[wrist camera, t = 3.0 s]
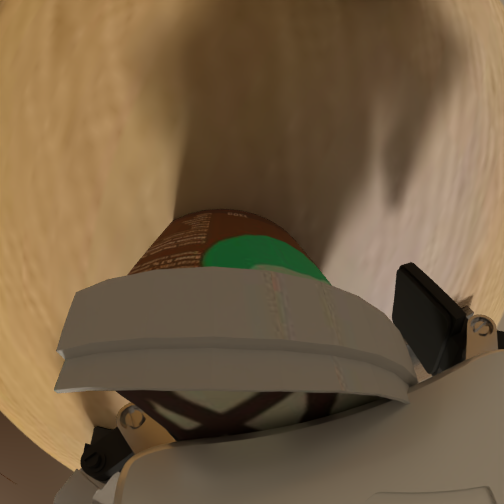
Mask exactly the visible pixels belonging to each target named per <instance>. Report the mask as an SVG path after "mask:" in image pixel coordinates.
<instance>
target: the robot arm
mask: <svg viewBox="0 0 504 504" xmlns="http://www.w3.org/2000/svg"><path fill="white" fill-rule="evenodd" d="M466 315H467V314H466V313H465V312H464V311H463V310H462V309H461V308H460V307H459V306H458V305H457V304H456V303H455V302H454V301H453V300H452V299H451V298H450V297H449V296H448V295H447V294H446V293H445V292H444V291H443V290H442V289H441V288H440V287H439V286H438V285H437V284H436V283H435V282H434V281H433V280H432V279H430V278H429V277H428V276H427V275H426V274H425V273H424V272H423V271H422V270H421V269H420V268H418V267H417V266H416V265H415V264H414V263H412V262H410V263H407V264H404V265H401V266H400V268H399V269H398V270H397V274H396V286H395V296H394V305H393V313H392V320H393V323H394V325H395V326H396V327H397V328H398V330H399V331H400V333H401V335H402V336H403V338H404V339H405V340H406V342H407V343H408V345H409V346H410V348H411V349H412V351H413V352H414V354H415V355H416V357H417V358H418V360H419V361H420V363H421V364H422V366H423V367H424V369H425V370H426V372H427V373H428V374H431V375H432V376H433V377H430V378H428V379H426V380H424V381H422V382H420V383H418V384H415V385H413V386H411V387H409V388H408V391H407V396H408V398H409V401H410V404H404V403H403V402H401V401H397V400H393V399H388V398H381V399H379V400H376V401H373V402H370V403H368V404H365V405H362V406H359V407H356V408H353V409H350V410H347V411H343V412H340V413H337V414H333V415H330V416H326V417H322V418H319V419H315V420H311V421H307V422H303V423H298V424H294V425H289V426H285V427H280V428H275V429H269V430H263V431H257V432H251V433H244V434H237V435H230V436H222V437H212V438H202V439H193V440H183V441H180V440H179V439H178V438H177V437H176V436H174V435H173V434H172V433H170V432H169V431H168V430H166V429H165V428H164V427H162V426H161V425H160V424H158V423H157V422H156V421H155V420H153V419H152V418H151V417H150V416H148V415H147V414H146V413H145V412H144V411H142V410H141V409H140V408H139V407H138V406H136V405H135V404H133V403H132V402H131V403H129V404H127V405H125V406H124V407H122V408H121V409H120V411H119V412H118V414H117V417H116V423H117V426H118V427H116V428H115V429H114V430H112V431H111V432H110V433H108V434H107V435H106V436H104V437H103V438H102V439H100V440H99V441H97V442H96V443H95V444H93V445H92V446H90V447H89V448H88V449H87V450H86V451H84V453H83V455H82V457H81V467H82V468H81V469H80V470H78V469H76V470H75V472H74V473H73V474H72V475H71V477H70V478H69V479H68V480H67V482H66V483H65V484H64V485H63V487H62V488H61V489H60V490H59V492H58V493H57V494H56V496H55V498H54V504H504V332H503V331H498V330H497V328H496V324H495V323H494V321H493V320H492V319H491V318H489V317H487V316H485V315H474V316H472V317H470V318H469V319H468V318H467V317H466Z"/></svg>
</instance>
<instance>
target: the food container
mask: <svg viewBox="0 0 504 504" xmlns="http://www.w3.org/2000/svg"><path fill="white" fill-rule="evenodd" d="M56 351H57V352H58V353H59V354H60V355H61V356H62V357H63V358H64V359H65V362H64V364H63V367H62V369H61V372H60V374H59V377H58V380H57V382H56V385H55V388H54V391H55V392H57V393H68V392H80V391H116V392H117V393H119V394H120V395H122V396H123V397H124V398H126V399H127V400H129V401H130V402H132V403H133V404H135V405H136V406H138V407H139V408H140V409H141V410H142V411H144V412H145V413H146V414H147V415H148V416H150V417H151V418H152V419H153V420H155V421H156V422H157V423H158V424H160V425H161V426H162V427H164V428H165V429H166V430H168V431H169V432H170V433H172V434H173V435H174V436H176V437H177V438H178V439H179V440H180V441H183V440H193V439H202V438H212V437H222V436H230V435H237V434H244V433H251V432H257V431H263V430H269V429H275V428H280V427H285V426H289V425H294V424H298V423H303V422H307V421H311V420H315V419H319V418H322V417H326V416H330V415H333V414H337V413H340V412H343V411H347V410H350V409H353V408H356V407H359V406H362V405H365V404H368V403H370V402H373V401H376V400H379V399H381V398H388V399H393V400H397V401H401V402H403V403H404V404H410V401H409V398H408V396H407V391H408V388H409V387H411V386H413V385H415V384H418V383H419V382H418V379H417V376H416V373H415V370H414V367H413V364H412V361H411V358H410V355H409V352H408V349H407V347H406V344H405V342H404V340H403V337H402V335H401V333H400V331H399V330H398V328H397V327H396V326H395V325H394V324H393V323H392V322H391V321H390V319H389V318H388V317H387V316H386V315H385V314H384V313H383V312H382V311H380V310H378V309H377V308H375V307H374V306H372V305H371V304H369V303H368V302H366V301H365V300H363V299H362V298H360V297H359V296H357V295H354V294H351V293H349V292H346V291H344V290H341V289H339V288H336V287H333V286H332V285H331V284H330V282H329V281H328V280H327V279H326V277H325V276H324V275H323V274H322V273H321V271H320V270H319V269H318V268H317V266H316V265H315V264H314V263H313V261H312V260H311V259H310V258H309V257H308V255H307V254H306V253H305V252H304V251H303V249H302V248H301V247H300V246H299V245H298V243H297V242H296V241H295V240H294V239H293V237H291V236H290V235H289V234H288V233H287V232H286V231H285V230H284V229H283V228H281V227H280V226H278V225H276V224H275V223H273V222H272V221H270V220H268V219H266V218H263V217H261V216H258V215H256V214H252V213H248V212H244V211H240V210H229V209H215V210H204V211H200V212H196V213H191V214H188V215H185V216H183V217H181V218H178V219H176V220H173V221H172V222H171V223H170V225H169V226H168V227H167V228H166V229H165V230H164V231H163V233H162V234H161V235H160V236H159V237H158V238H157V240H156V241H155V242H154V243H153V244H152V245H151V247H150V248H149V249H148V250H147V251H146V253H145V254H144V255H143V256H142V258H141V259H140V260H139V261H138V262H137V264H136V265H135V266H134V267H133V269H132V270H131V271H130V272H129V274H128V275H127V276H122V277H118V278H113V279H108V280H105V281H103V282H100V283H98V284H95V285H93V286H90V287H88V288H85V289H83V290H81V291H78V292H76V294H75V296H74V299H73V302H72V304H71V307H70V310H69V313H68V316H67V318H66V321H65V324H64V327H63V330H62V334H61V337H60V340H59V343H58V347H57V350H56Z"/></svg>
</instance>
